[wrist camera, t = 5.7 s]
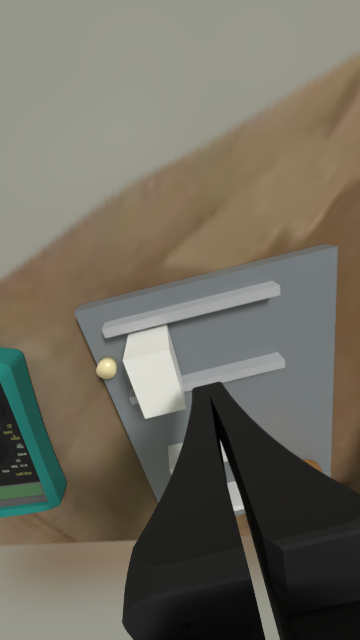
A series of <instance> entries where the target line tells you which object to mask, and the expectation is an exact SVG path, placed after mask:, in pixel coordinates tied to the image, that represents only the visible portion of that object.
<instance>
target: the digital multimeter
mask: <svg viewBox="0 0 360 640" xmlns="http://www.w3.org/2000/svg"><path fill="white" fill-rule="evenodd" d="M2 387H3V388H2ZM9 404H10V405H9ZM10 407H11V408H10ZM11 409H12V410H11ZM13 414H14V415H13ZM14 416H15V417H14ZM15 419H16V420H15ZM16 421H17V422H16ZM17 424H18V425H17ZM18 426H19V427H18ZM19 429H20V430H19ZM20 431H21V432H20ZM21 434H22V435H21ZM22 436H23V437H22ZM23 439H24V440H23ZM24 441H25V442H24ZM25 444H26V445H25ZM26 446H27V447H26ZM27 449H28V450H27ZM28 451H29V452H28ZM29 454H30V455H29ZM30 456H31V457H30ZM10 458H11V459H10ZM31 459H32V460H31ZM8 461H9V462H8ZM32 461H33V462H32ZM33 464H34V465H33ZM34 466H35V467H34ZM35 469H36V470H35ZM36 471H37V472H36ZM37 474H38V475H37ZM66 484H67V482H66V480H65V477H64V475H63V473H62V470H61V468H60V466H59V463H58V461H57V459H56V456H55V454H54V452H53V449H52V446H51V443H50V440H49V438H48V435H47V432H46V429H45V427H44V424H43V421H42V418H41V415H40V412H39V408H38V405H37V402H36V398H35V395H34V392H33V388H32V385H31V381H30V377H29V373H28V369H27V366H26V362H25V358H24V355H23V353H22V352H21V351H19V350H17V349H9V348H0V517H8V516H16V515H23V514H29V513H35V512H41V511H46V510H49V509H52V508H55V507H57V506H59V505H60V504H61V500H62V497H63V494H64V491H65V488H66Z"/></svg>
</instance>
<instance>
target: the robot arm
mask: <svg viewBox="0 0 360 640" xmlns="http://www.w3.org/2000/svg"><path fill="white" fill-rule="evenodd" d="M220 440H221V443H222V446H223V449H224V451H225V454H226V457H227V460H228V462H229V465H230V468H231V471H232V473H233V476H234V479H235V482H236V484H237V487H238V490H239V493H240V496H241V499H242V503H243V506H244V510H245V513H246V517H247V521H248V524H249V528H250V531H251V535H252V539H253V542H254V546H255V549H256V553H257V556H258V560H259V564H260V567H261V571H262V575H263V578H264V582H265V586H266V589H267V593H268V597H269V600H270V604H271V608H272V612H273V615H274V619H275V623H276V626H277V630H278V634H279V637H280V640H360V494H359V493H357V492H355V491H353V490H351V489H349V488H348V487H346V486H344V485H342V484H340V483H339V482H337V481H335V480H334V479H332V478H330V477H329V476H327V475H325V474H324V473H322V472H320V471H319V470H317V469H316V468H314V467H313V466H311V465H310V464H308V463H307V462H305V461H304V460H302V459H301V458H299V457H298V456H296V455H295V454H294V453H292V452H291V451H289V450H288V449H287V448H285V447H284V446H283V445H282V444H280V443H279V442H278V441H276V440H275V439H274V438H273V437H272V436H270V435H269V434H268V433H267V432H266V431H265V430H263V429H262V428H261V427H260V426H259V425H258V424H257V423H256V422H255V421H254V420H253V419H252V418H251V417H250V416H249V415H248V414H247V413H246V412H245V411H244V410H243V409H242V408H241V407H240V406H239V405H238V403H237V402H236V401H235V400H234V399H233V397H232V396H231V395H230V394H229V392H228V391H227V390H226V388H225V387H224V385H223V383H222V382H220V381H219V382H215V383H211V384H207V385H203V386H198V387H194V388H193V389H192V403H191V410H190V416H189V421H188V426H187V430H186V434H185V437H184V441H183V445H182V448H181V451H180V454H179V457H178V460H177V462H176V465H175V468H174V470H173V473H172V475H171V477H170V480H169V482H168V484H167V487H166V489H165V491H164V493H163V495H162V497H161V499H160V501H159V503H158V505H157V507H156V509H155V511H154V513H153V515H152V516H151V518H150V520H149V522H148V523H147V525H146V527H145V529H144V530H143V532H142V534H141V535H140V537H139V539H138V540H137V542H136V544H135V546H134V547H133V551H132V555H131V559H130V563H129V568H128V573H127V579H126V585H125V593H124V606H123V619H122V623H123V625H124V627H125V629H126V630H127V632H128V633H129V635H130V636H131V637H132V638H133V640H265V636H264V632H263V627H262V623H261V618H260V614H259V610H258V606H257V602H256V597H255V593H254V589H253V585H252V580H251V576H250V572H249V568H248V564H247V560H246V556H245V552H244V549H243V545H242V541H241V537H240V533H239V529H238V525H237V521H236V517H235V513H234V509H233V505H232V501H231V497H230V493H229V490H228V484H227V478H226V472H225V466H224V460H223V454H222V448H221V443H220Z"/></svg>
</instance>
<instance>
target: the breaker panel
mask: <svg viewBox="0 0 360 640" xmlns="http://www.w3.org/2000/svg"><path fill="white" fill-rule="evenodd" d="M337 251H338V246H334V245H329V244H322V245H318V246H314V247H310V248H306V249H302V250H298V251H294V252H290V253H286V254H282V255H278V256H274V257H270V258H266V259H262V260H258V261H254V262H250V263H246V264H242V265H238V266H234V267H230V268H226V269H222V270H218V271H214V272H210V273H206V274H202V275H198V276H194V277H190V278H186V279H182V280H178V281H174V282H170V283H166V284H162V285H158V286H154V287H150V288H146V289H142V290H138V291H134V292H130V293H126V294H122V295H118V296H114V297H110V298H106V299H102V300H98V301H94V302H90V303H86V304H82V305H79V306H78V308H77V309H76V310H75V311H74V313H75V316H76V318H77V320H78V322H79V325H80V327H81V329H82V332H83V334H84V336H85V338H86V341H87V343H88V345H89V347H90V350H91V352H92V354H93V356H94V359H95V361H96V363H97V369H96V372H97V375H98V376H99V377H101V378H103V379H104V381H105V384H106V386H107V388H108V391H109V393H110V395H111V397H112V400H113V402H114V404H115V406H116V409H117V411H118V413H119V415H120V418H121V420H122V422H123V425H124V427H125V429H126V431H127V434H128V436H129V438H130V440H131V443H132V445H133V447H134V449H135V452H136V454H137V456H138V459H139V461H140V463H141V465H142V468H143V470H144V472H145V474H146V477H147V479H148V481H149V483H150V486H151V488H152V490H153V493H154V495H155V497H156V499H157V502H158V503H159V501H160V499H161V497H162V495H163V493H164V491H165V489H166V487H167V484H168V482H169V480H170V477H171V475H172V473H173V470H174V468H175V465H176V462H177V460H178V457H179V454H180V451H181V448H182V445H183V441H184V437H185V434H186V430H187V426H188V421H189V416H190V410H191V403H192V389H193V388H194V387H198V386H203V385H207V384H211V383H215V382H219V381H220V382H222V383H223V385H224V387H225V388H226V390H227V391H228V392H229V394H230V395H231V396H232V397H233V399H234V400H235V401H236V402H237V403H238V405H239V406H240V407H241V408H242V409H243V410H244V411H245V412H246V413H247V414H248V415H249V416H250V417H251V418H252V419H253V420H254V421H255V422H256V423H257V424H258V425H259V426H260V427H261V428H262V429H263V430H265V431H266V432H267V433H268V434H269V435H270V436H272V437H273V438H274V439H275V440H276V441H278V442H279V443H280V444H282V445H283V446H284V447H285V448H287V449H288V450H289V451H291V452H292V453H294V454H295V455H296V456H298V457H299V458H301V459H310V460H313V461H315V462H317V463H318V464H319V466H320V468H321V469H322V471H323V472H324V474H325V475H327V476H329V477H331V445H332V412H333V380H334V348H335V315H336V283H337ZM166 323H167V326H168V330H169V333H170V337H171V340H172V344H173V348H174V351H175V355H176V358H177V362H178V366H179V369H180V373H181V377H182V384H183V390H184V397H185V403H186V409H184V410H180V411H176V412H171V413H167V414H163V415H159V416H155V417H151V418H147V419H145V417H144V415H143V412H142V410H141V407H140V404H139V402H138V399H137V397H136V394H135V392H134V389H133V386H132V384H131V381H130V379H129V376H128V373H127V371H126V368H125V366H124V363H123V357H124V352H125V348H126V343H127V338H128V333H129V332H133V331H137V330H141V329H145V328H149V327H153V326H157V325H162V324H166ZM220 443H221V440H220ZM221 448H222V454H223V460H224V466H225V472H226V478H227V484H228V490H229V493H230V497H231V501H232V505H233V509H234V513H235V516H237V515H241V514H245V510H244V506H243V503H242V499H241V496H240V493H239V490H238V487H237V484H236V482H235V479H234V476H233V473H232V471H231V468H230V465H229V462H228V460H227V457H226V454H225V451H224V449H223V446H222V443H221Z"/></svg>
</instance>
